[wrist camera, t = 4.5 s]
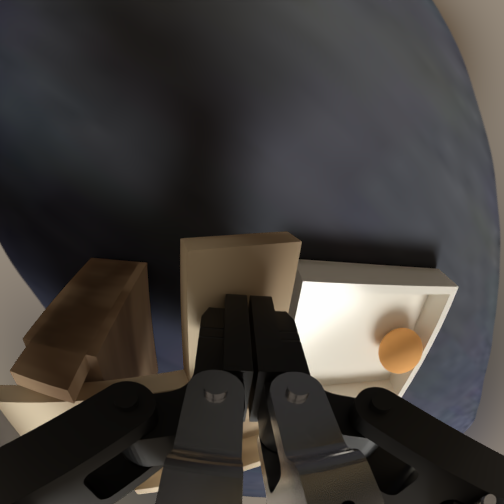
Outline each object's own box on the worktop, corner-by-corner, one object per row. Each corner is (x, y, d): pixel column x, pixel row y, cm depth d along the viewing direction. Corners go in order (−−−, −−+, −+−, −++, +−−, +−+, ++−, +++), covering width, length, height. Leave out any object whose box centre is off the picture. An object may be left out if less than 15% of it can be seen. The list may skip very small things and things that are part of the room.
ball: (390, 343, 17) (434, 350, 16) (385, 315, 20) (425, 322, 19) (372, 379, 18) (413, 385, 18) (371, 349, 22) (408, 356, 21)
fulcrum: (112, 363, 21) (73, 469, 11) (91, 257, 17) (1, 367, 8) (158, 370, 21) (132, 486, 12) (146, 262, 18) (79, 393, 8)
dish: (293, 258, 18) (302, 281, 15) (438, 268, 19) (458, 286, 16) (268, 385, 23) (271, 411, 20) (389, 378, 24) (399, 399, 21)
